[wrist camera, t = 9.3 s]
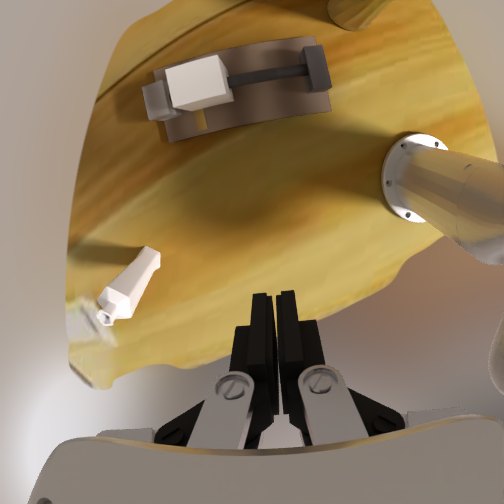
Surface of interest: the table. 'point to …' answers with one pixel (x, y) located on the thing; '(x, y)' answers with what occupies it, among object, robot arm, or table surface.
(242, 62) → the linear slide rail
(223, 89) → the notched white rod block
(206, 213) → the table surface
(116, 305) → the perfume bottle
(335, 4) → the vase
